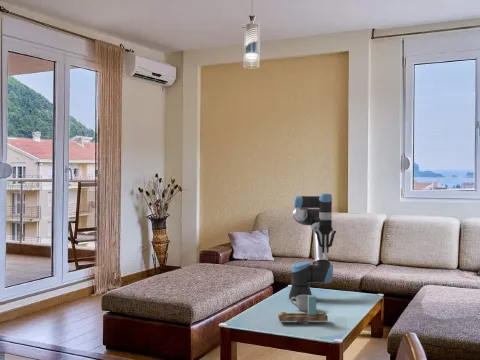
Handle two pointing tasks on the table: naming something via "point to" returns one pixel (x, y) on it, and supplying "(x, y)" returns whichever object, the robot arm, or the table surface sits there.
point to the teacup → (301, 302)
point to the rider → (311, 305)
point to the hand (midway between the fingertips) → (325, 258)
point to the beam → (302, 317)
